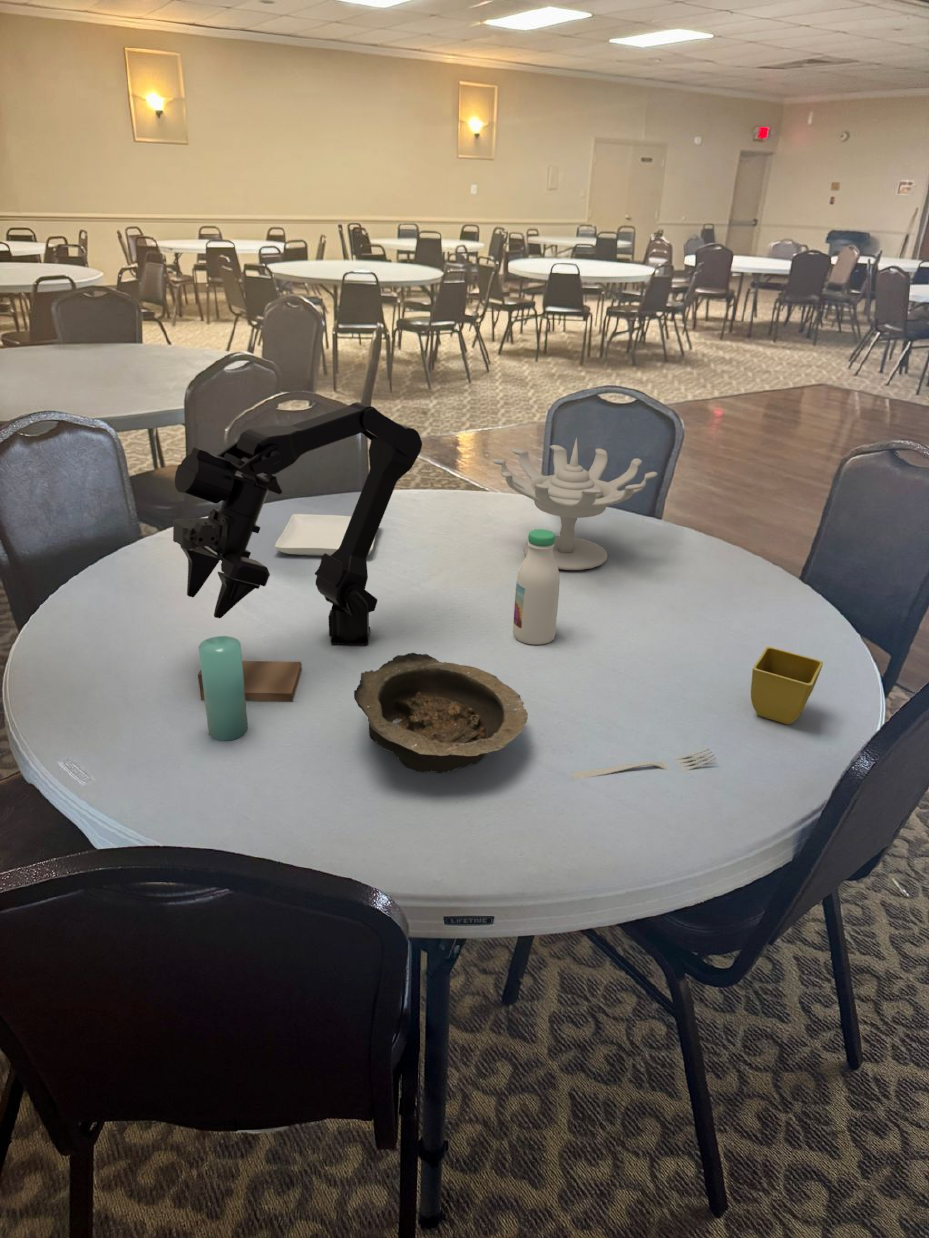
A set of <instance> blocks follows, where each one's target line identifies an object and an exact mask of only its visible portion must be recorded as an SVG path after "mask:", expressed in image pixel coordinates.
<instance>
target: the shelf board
mask: <svg viewBox="0 0 929 1238" xmlns="http://www.w3.org/2000/svg"><path fill="white" fill-rule="evenodd" d="M242 666H243V677H244V688H245V699H246V702H276V703H277V702H279V703H281V702H283V703H284V702H285V703H286V702H287V703H291V702H293V700H294V697H295V693H296V691H297V687H298V684H299V680H300V676H301V674H302V670H303V669H302V667H303V666H302V661H283V660H281V661H280V660H279V661H278V660H277V661H275V660H273V661H272V660H242ZM197 677H198V678H197V680H198V688H199V694H200V695H199V696H200V700H201V701H205V698H204V689H203V681H202V672H201V669H200V670H199V672H198V675H197Z"/></svg>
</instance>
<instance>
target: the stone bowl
mask: <svg viewBox="0 0 929 1238" xmlns="http://www.w3.org/2000/svg"><path fill="white" fill-rule="evenodd" d="M353 696H354V697H353V699H354V701H355V702H356V704H357V706H358V708H360V709H361V710H362V712H363V713H364V715H365V716H366V717H367V722H368V735H369V738H370V740H371V741H372V742H375V743H376V744H377V745H378V747H381V749H383V750H386V751H387V752H389V753H393V754H394V755H395V756H396V757H397V759H398V761H399V762H400V763H401V764H402V765H403V766H404V767H405V768H407V769H410V770H412V771H415V772H417V773H418V772H419V773H428V772H429V773H430V772H434V773H437V774H444V773H445V774H446V773H448V772H452V771H454V770H458V769H462V768H463V769H464V768H467V767H468V766H471V765H472V766H473V765H476V764H478V763H479V762H480V761H482V759H483V758H484V757H485V756H486V755H487V754H488V753H490V752H496V751H499V750H502V749H504V748H505V747H506V745H507V744H508V743H510V742H511V741H512V740H514V739H515V738H516V737H517V736H518V735H519V734H521V733H522V731H523V729H524V728H525V726H526V724H527V722H528V720H529V719H528V718H529V715H528V714H529V713H528V711H527V709H525V706H524V705H525V702H524V701H523V700H522V698H521V695H520V694H518V692H516V690H514V689H513V688H512V687H510V686H509V685H508V684H506V683H504V682H502V680H500V679H499V678H498V677H497V675H493V674H491V673H489V672H487V671H485V670H482V669H480V668H478V667H474V666H470V665H465V664H464V665H463V664H458V663H455V662H454V663H453V662H446V661H444V662H441V661H440V660H438V659H437V658H435V657H433V656H431V655H429V654H427V653H423V654H422V653H416V652H410V653H406V654H403V655H401V654H400V655H398V654H397V655H396V656H393V657H392V660H388V661H387V662H386V663H383V664H382V665H381V666H380V667H379V669H376V670H373V669H371V670H369V671H367V670H365V671H364V672H361V673H360V679H359V684H358V686H357V687H356V689H355V690H353ZM395 720H400V721H399V722H393V721H395Z"/></svg>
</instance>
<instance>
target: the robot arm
mask: <svg viewBox="0 0 929 1238" xmlns="http://www.w3.org/2000/svg"><path fill="white" fill-rule="evenodd" d="M359 434H361V435H362V436H364V437H365V438H366V439H368V440H370V443H369V444H370V445H369V446H368V447H369V448H368V459H369V471H368V475H367V476H366V479H365V482H364V483H363V487H362V490H361V491H360V495H359V497H358V499H357V503H355V507H354V510H353V513H352V515H351V516H352V517H351V520H350V522H349V525H348V527H347V530H346V532H345V535H344V538H343V540H342V543H341V545H340V547H339V549H338V550H337V551H335V552H334V553H333V554H332V555H331V556H330V555H328V554H326V553H325V554H324V555H323V556H321V560H320V563H319V566H318V568H317V570H315V572H314V575H315V576H316V578H315V586H316V588H317V590H318V591H317V592H319V594H320V595H322V596H323V597H324V599H325V600H326V602H327V603H331V604H332V605H331V609H330V610H329V614H328V636H329V637H330V638H331V640H330V645H339V646H340V645H342V646H344V645H345V646H347V645H349V646H351V645H352V646H367V645H368V644H369V640H370V634H371V627H370V613H371V612H374V611H375V610H376V607H377V604H378V598H376V596H374V595H372V593H370V592H369V591H368V590H366V586H367V583H368V578H369V576H368V563H367V562H368V561H367V558H368V556H369V554H370V553H369V551H370V548H371V546H372V543H373V541H374V538H375V539H376V537H375V536H376V535H377V533H378V531H379V527H380V525H381V523H382V521H383V518H384V515H385V512H386V510H387V507H388V505H389V502H390V500H391V498H392V494H393V493H394V490H395V487H396V485H397V483H398V481H399V480H400V479H401V478H402V477H403V476H405V475H406V474H407V473H408V472H409V471H410V470H411V469H412V467H413V466H414V464H415V462H416V461H417V459H418V457H419V456H420V454H421V451H422V448H423V441H422V439H421V434H420V433H419V432H418V431H417V430H416V429H415V428H412V427H409V426H406V425H404V424H400V423H397V422H396V421H394V420H392V419H391V418H389V417H387V416H386V415H384V414H383V413H381V412H380V411H379V410H378V409H376V407H374V406H371V405H368V404H365V403H362V402H360V401H359V402H353V403H351V404H349V405H348V406H346V407H342V408H339V409H336V410H334V411H330V412H327V413H324V414H322V415H317V416H315V417H312V418H310V419H306V420H304V421H301V422H300V421H299V422H298V423H295V424H291V425H290V424H289V425H284V426H283V425H282V426H281V425H279V426H278V425H277V426H275V425H274V426H273V425H272V426H271V425H270V426H268V425H267V426H262V427H252V428H248V429H246V430H244V431H242V433H240V435H239V438H238V439H237V441H236V442H234V443H233V444H231V445H230V446H229V447H226V449H224V450H223V451H221V452H220V453H219V454H217V455H214V454H211V453H209V452H208V451H207V450H204V449H202V448H199V447H196V446H194V447H193V448H192V450H191V453H190V454H188V455H186V456H185V457H184V458H183V459H182V461H181V462H180V464H178V465H177V468H176V470H175V474H174V475H175V476H174V486H175V487H174V488H175V489H176V491H177V492H179V493H181V494H183V495H187V496H190V497H193V498H196V499H198V500H202V501H205V502H209V503H211V504H219V503H221V504H220V506H219V509H216V508H212V510H210V511H209V514H208V517H190V518H189V517H188V518H177V519H173V525H172V526H173V527H172V528H173V529H172V532H173V535H172V537H173V538H172V541H173V542H174V543H177V544H178V545H179V547H180V549H181V550H182V552H183V553H184V555H185V556H186V558H187V565H188V566H187V586H186V595H187V597H189V598H195V597H196V595H197V594H198V592H200V590H201V588H203V586H204V584H205V583H206V581H207V580H208V578H210V576H211V574H212V573H213V571H214V570H215V568H216V567H217V565H218V563H220V562H221V563H220V568H221V569H220V570H221V571H217V575H218V577H219V579H220V582H221V585H220V590H219V593H218V596H217V600H216V603H215V607H214V612H213V613H214V614H213V616H214V618H217V619H221V618H224V616H225V615H226V614H227V613H228V612H230V611H231V610H232V609H233V608H234V607H235V606H236V605H237V604H238V603H239V602H240V601H242V599H244V598H245V597H246V596H247V595H249V594H250V593H251V592H252V591H254V590H256V589H260V587H266V586H267V583H268V581H269V579H270V575H271V573H270V571H269V569H268V567H267V566H266V565H264V564H263V563H261V562H260V561H258V560H256V559H253V558H250V556H251V553H252V552H251V551H250V550H248V549H247V548H248V545H249V542H250V540H251V537H252V535H253V533H255V534H259V533H260V531H261V526H259V525H257V521H258V519H259V517H260V514H261V511H262V509H263V506H264V504H265V501H266V499H267V496H268V494H269V492H272V493H275V494H277V495H282V493H283V490H282V488H281V487H280V485H279V483H278V478H277V476H275V475H276V474H277V475H278V473H281V472H282V471H284V470H285V469H287V468H289V467H291V466H293V465H294V464H295V463H296V462H297V461H298V460H299V458H300V457H301V456H303V455H305V454H306V453H308V452H311V451H314V450H317V449H319V448H323V447H326V446H328V445H331V444H334V443H337V442H340V441H342V440H345V439H348V438H350V437H353V436H357V435H359ZM237 472H238V473H239V472H240V473H241V474H238V473H237ZM260 474H264V475H260ZM374 542H375V541H374ZM368 553H369V554H368Z"/></svg>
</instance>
